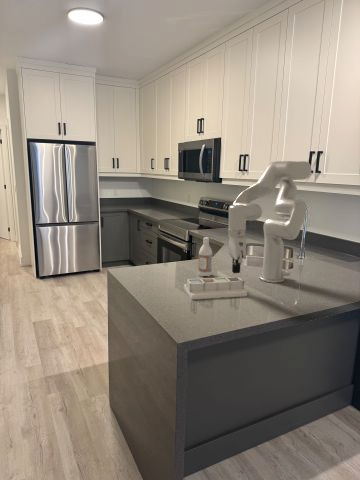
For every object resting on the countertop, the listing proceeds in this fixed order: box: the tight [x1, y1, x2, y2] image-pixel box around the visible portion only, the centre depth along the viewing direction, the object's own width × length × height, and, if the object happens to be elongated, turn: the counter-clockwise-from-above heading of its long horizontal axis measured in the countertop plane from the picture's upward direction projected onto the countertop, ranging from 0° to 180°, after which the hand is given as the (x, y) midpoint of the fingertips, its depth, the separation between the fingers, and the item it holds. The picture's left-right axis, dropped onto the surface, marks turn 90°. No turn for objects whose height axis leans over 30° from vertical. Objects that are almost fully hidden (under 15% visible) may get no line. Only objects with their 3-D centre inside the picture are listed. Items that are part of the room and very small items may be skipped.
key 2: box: [215, 279, 227, 282], centre depth 147 cm, size 4×4×2 cm
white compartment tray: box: [183, 276, 248, 300], centre depth 147 cm, size 25×14×6 cm, turn 102°
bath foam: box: [197, 236, 213, 277], centre depth 170 cm, size 7×7×20 cm
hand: (236, 272), depth 148 cm, fingers closed
